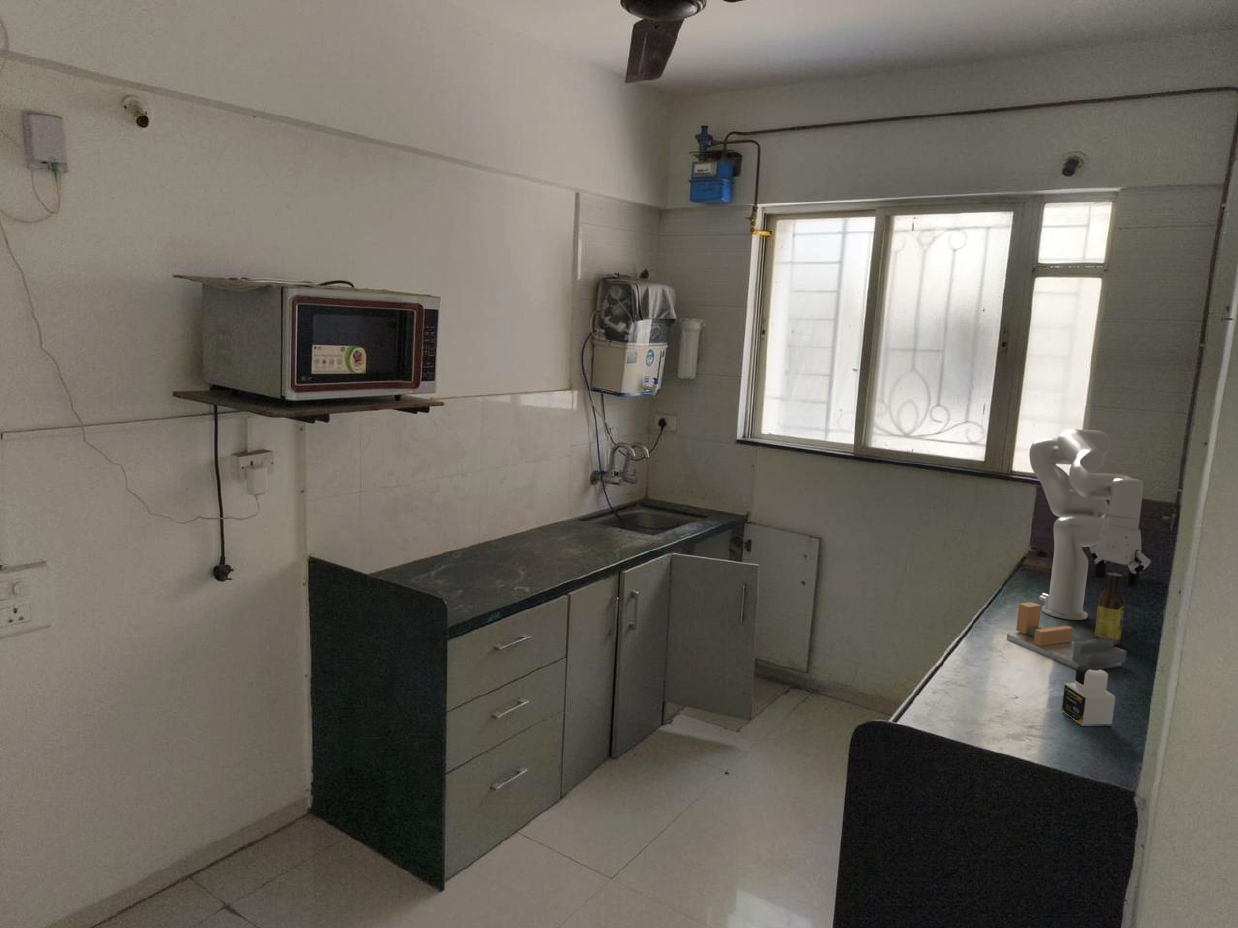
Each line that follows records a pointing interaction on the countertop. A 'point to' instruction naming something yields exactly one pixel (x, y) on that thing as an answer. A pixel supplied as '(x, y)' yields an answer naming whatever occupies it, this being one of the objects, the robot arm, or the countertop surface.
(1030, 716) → the countertop surface
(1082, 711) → the medicine bottle
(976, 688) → the countertop surface
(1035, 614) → the sliding jaw
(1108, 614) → the sauce bottle
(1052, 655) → the vise base
